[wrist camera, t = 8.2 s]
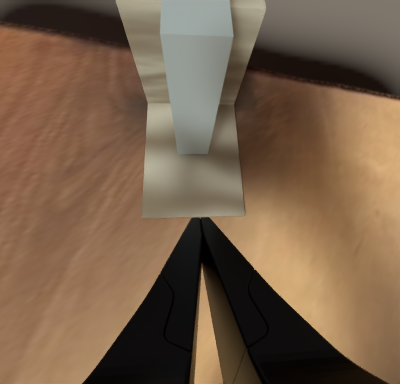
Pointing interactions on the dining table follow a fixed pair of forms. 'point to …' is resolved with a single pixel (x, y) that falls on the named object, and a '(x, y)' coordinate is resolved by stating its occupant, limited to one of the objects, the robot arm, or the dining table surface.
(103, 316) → the dining table surface
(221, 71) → the light gray rectangular block
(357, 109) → the dining table surface
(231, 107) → the beige bookend
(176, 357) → the robot arm
